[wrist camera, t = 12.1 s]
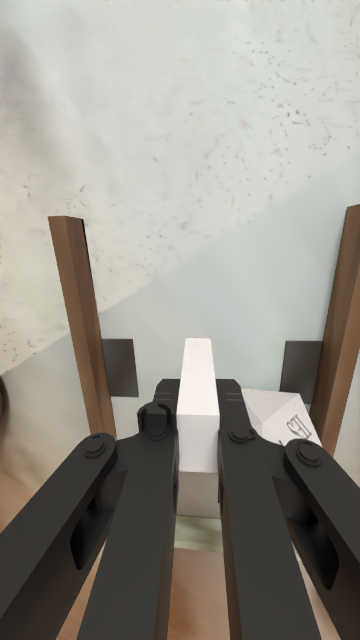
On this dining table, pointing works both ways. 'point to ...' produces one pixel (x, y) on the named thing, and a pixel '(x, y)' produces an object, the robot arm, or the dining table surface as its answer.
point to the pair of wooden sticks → (298, 367)
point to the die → (279, 416)
